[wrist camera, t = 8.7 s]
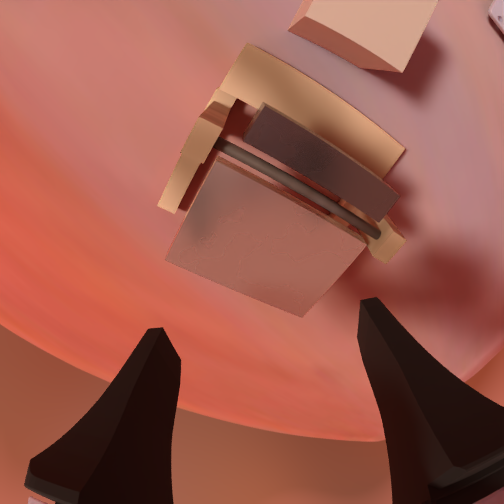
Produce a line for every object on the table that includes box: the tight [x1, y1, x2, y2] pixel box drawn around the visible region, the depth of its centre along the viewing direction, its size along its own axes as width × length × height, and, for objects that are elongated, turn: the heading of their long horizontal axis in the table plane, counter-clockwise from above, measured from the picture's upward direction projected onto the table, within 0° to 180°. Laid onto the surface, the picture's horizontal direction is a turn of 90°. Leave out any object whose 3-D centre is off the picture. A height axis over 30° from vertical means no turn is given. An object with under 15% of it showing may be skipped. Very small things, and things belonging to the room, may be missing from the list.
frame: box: [157, 43, 407, 264], centre depth 16 cm, size 11×11×6 cm
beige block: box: [287, 0, 438, 73], centre depth 11 cm, size 5×5×6 cm
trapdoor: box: [165, 102, 400, 318], centre depth 14 cm, size 8×8×1 cm
